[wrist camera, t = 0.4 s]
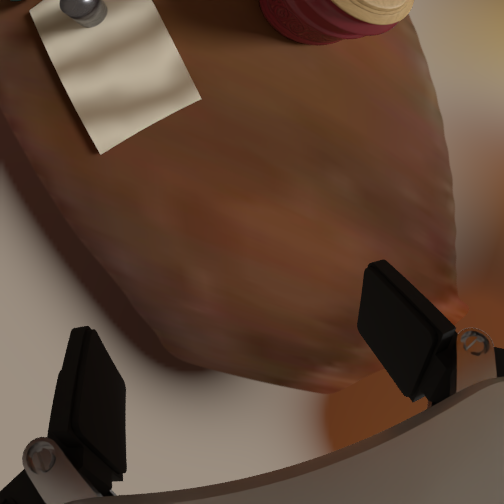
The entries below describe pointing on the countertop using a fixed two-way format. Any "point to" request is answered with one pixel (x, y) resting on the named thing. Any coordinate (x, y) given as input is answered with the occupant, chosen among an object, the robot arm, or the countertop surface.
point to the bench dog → (85, 11)
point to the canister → (333, 18)
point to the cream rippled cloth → (116, 68)
